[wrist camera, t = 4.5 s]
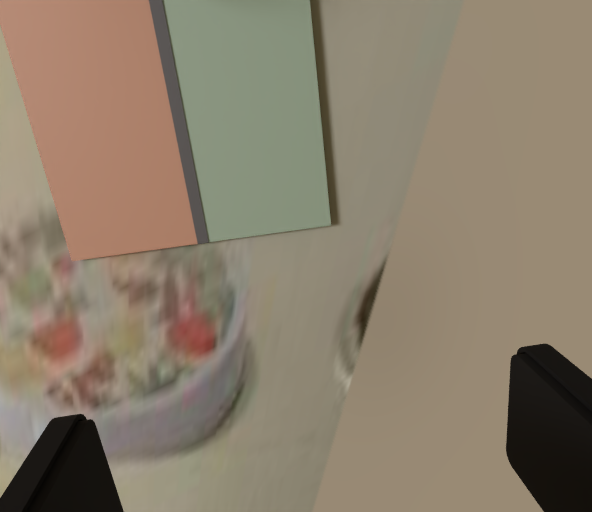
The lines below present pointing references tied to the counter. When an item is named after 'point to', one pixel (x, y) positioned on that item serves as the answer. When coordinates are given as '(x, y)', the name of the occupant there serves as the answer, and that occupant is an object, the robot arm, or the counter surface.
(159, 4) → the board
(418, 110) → the counter surface
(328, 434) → the counter surface
